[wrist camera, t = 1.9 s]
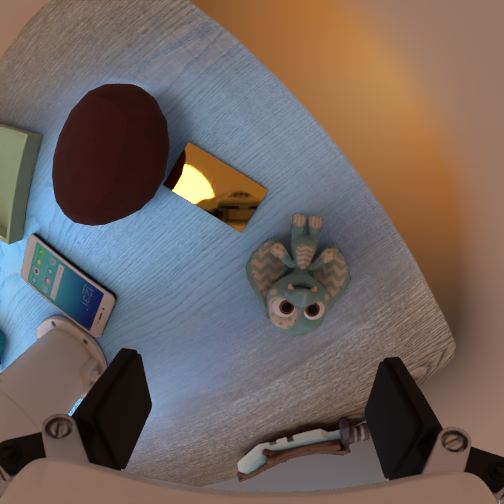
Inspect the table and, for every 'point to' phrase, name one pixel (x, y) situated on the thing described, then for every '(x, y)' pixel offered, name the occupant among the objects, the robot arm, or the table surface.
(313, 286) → the stuffed animal
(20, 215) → the tray
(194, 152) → the gold rectangular slab
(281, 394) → the table surface
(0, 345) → the ice cube tray
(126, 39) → the table surface
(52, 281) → the smartphone
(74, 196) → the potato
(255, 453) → the decorative knife
